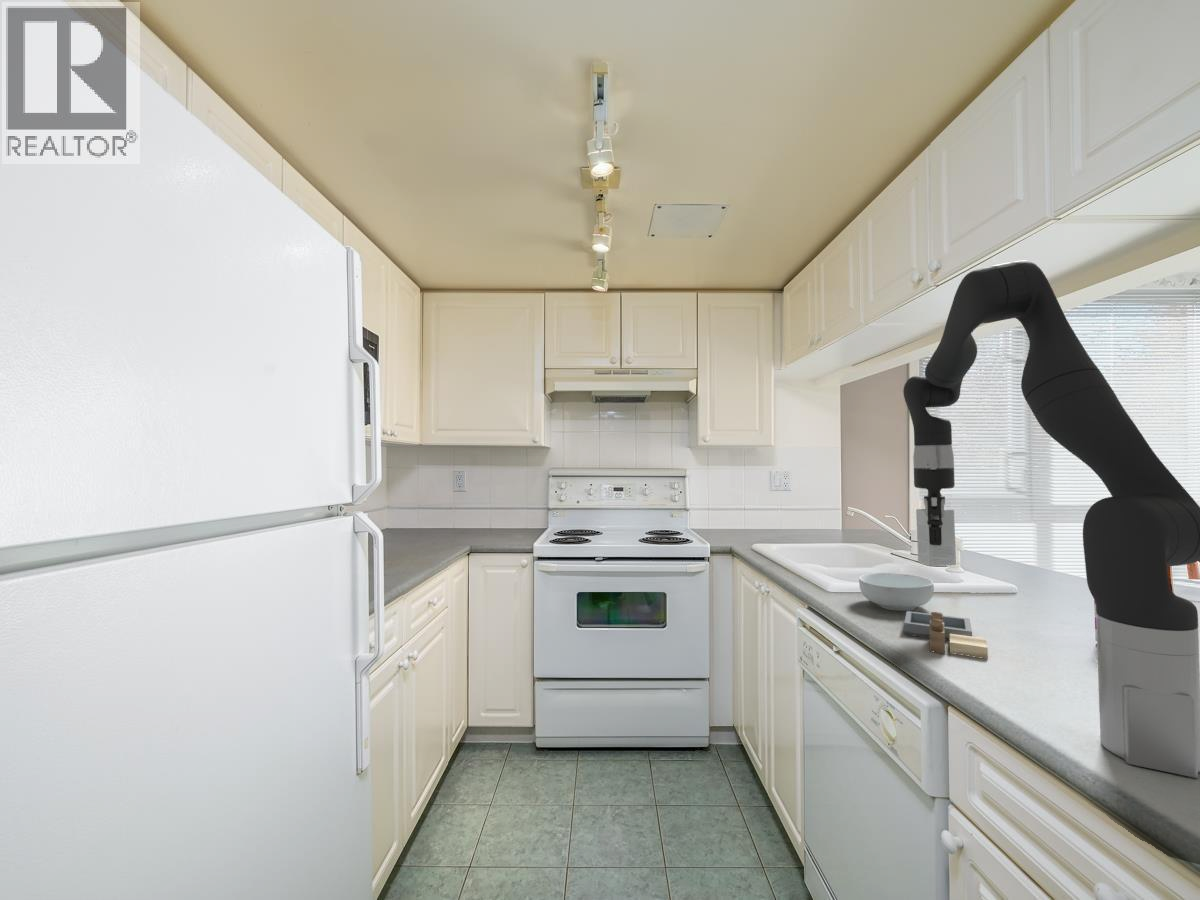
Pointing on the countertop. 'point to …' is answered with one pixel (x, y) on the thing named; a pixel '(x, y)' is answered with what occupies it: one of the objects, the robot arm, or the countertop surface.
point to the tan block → (968, 645)
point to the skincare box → (936, 553)
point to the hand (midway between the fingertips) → (935, 542)
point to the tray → (921, 625)
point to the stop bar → (937, 633)
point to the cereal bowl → (896, 590)
